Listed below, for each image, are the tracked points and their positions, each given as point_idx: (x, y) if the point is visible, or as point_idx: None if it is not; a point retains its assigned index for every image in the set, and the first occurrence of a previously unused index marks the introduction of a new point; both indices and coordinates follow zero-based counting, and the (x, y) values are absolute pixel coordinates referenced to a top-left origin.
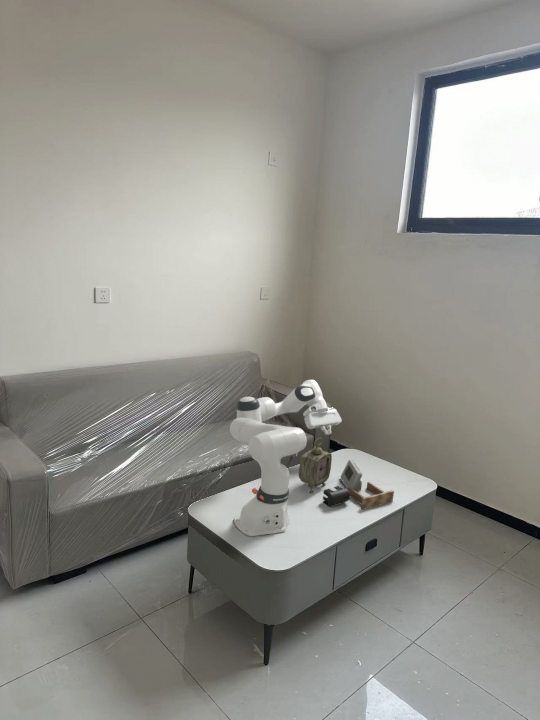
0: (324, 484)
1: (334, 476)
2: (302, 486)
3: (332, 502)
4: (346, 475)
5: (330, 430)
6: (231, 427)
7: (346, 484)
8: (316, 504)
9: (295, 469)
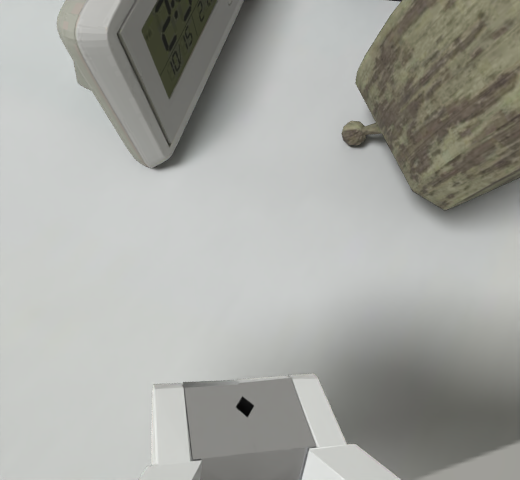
0: (356, 122)
1: (184, 220)
2: None
3: None
4: (186, 50)
5: (172, 438)
6: None
7: (224, 26)
8: None
9: (429, 447)
